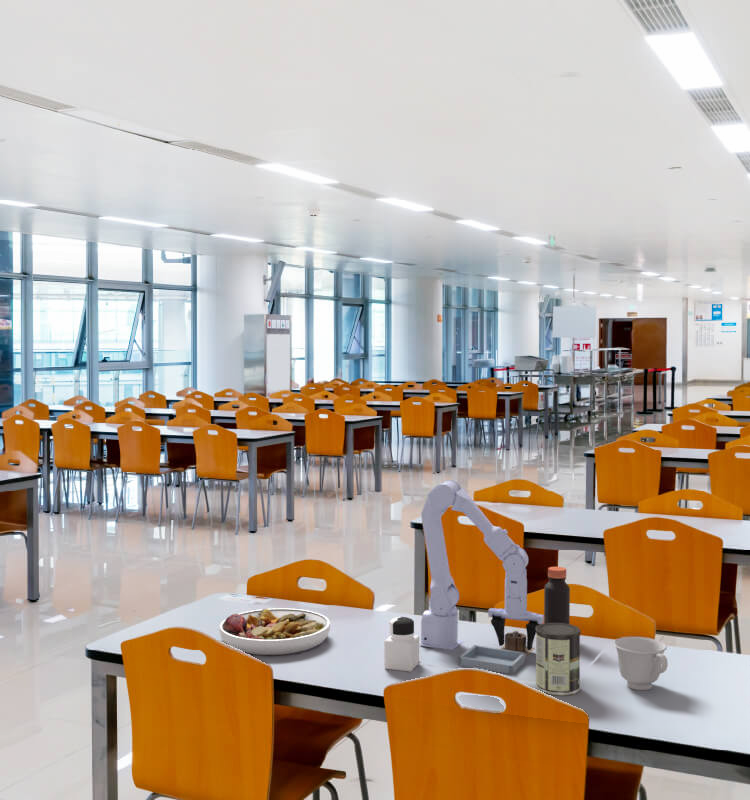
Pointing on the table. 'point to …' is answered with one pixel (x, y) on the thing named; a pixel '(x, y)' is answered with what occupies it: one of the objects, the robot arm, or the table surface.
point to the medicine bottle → (401, 645)
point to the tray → (492, 659)
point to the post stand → (515, 634)
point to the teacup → (640, 660)
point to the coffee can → (558, 658)
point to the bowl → (275, 631)
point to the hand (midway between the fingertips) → (515, 646)
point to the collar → (515, 642)
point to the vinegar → (557, 597)
